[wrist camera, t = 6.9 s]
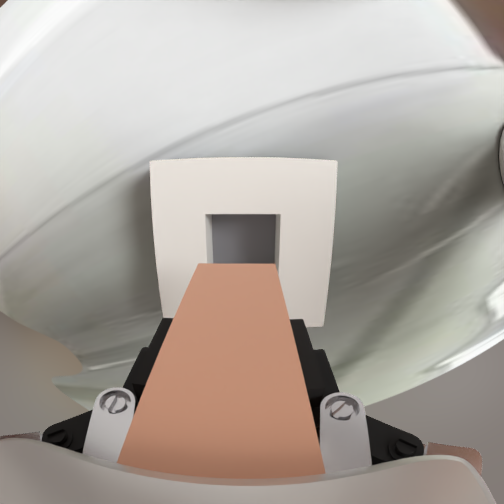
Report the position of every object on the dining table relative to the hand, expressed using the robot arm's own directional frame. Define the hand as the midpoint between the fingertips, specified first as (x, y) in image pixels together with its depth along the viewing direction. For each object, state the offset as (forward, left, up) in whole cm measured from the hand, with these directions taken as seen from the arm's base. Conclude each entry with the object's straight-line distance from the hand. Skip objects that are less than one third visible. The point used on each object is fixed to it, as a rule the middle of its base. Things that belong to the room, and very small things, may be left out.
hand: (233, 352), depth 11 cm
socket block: (0, 0, -18) cm, 18 cm away
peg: (0, 0, -5) cm, 5 cm away
